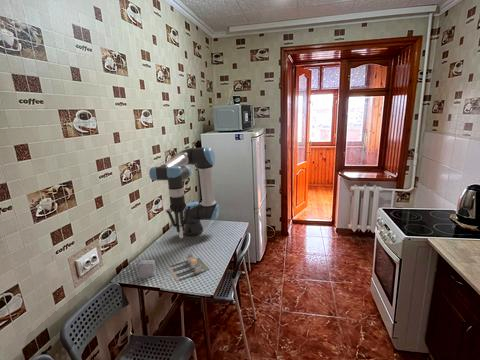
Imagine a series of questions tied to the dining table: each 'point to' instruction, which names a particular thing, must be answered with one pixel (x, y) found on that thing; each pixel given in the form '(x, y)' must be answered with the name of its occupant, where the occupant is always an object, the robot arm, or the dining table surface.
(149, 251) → the dining table surface
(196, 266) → the block
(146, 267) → the medicine box
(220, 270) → the dining table surface
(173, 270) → the panel
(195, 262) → the block
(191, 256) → the block
